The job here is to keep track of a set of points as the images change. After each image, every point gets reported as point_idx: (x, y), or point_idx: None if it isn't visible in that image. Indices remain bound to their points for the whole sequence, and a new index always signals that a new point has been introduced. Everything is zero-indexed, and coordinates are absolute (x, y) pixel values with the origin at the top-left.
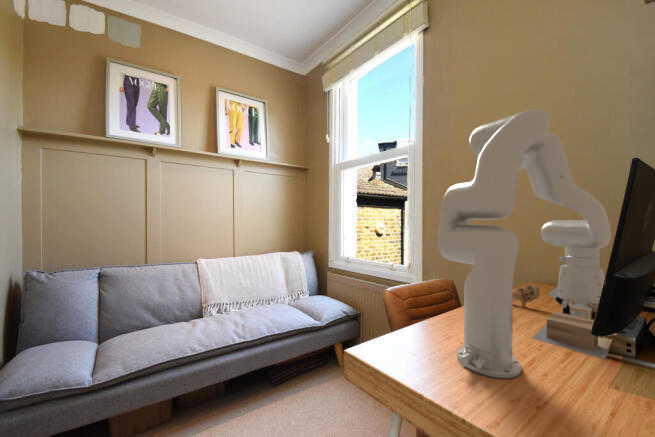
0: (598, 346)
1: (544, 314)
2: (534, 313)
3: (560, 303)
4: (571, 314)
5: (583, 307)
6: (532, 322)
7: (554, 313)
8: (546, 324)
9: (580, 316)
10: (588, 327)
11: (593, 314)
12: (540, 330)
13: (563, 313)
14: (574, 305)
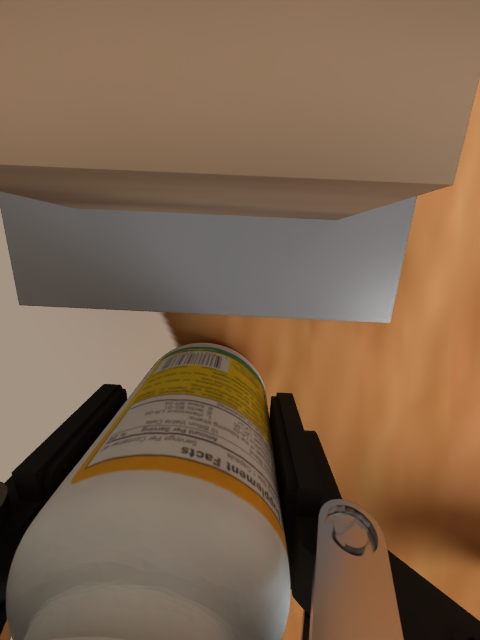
0: None
1: (400, 525)
2: (454, 507)
3: (401, 575)
4: (252, 429)
5: (83, 530)
6: (473, 313)
7: (478, 8)
8: (397, 280)
9: (169, 403)
10: None
11: (45, 473)
12: None
13: (329, 177)
14: (213, 550)
